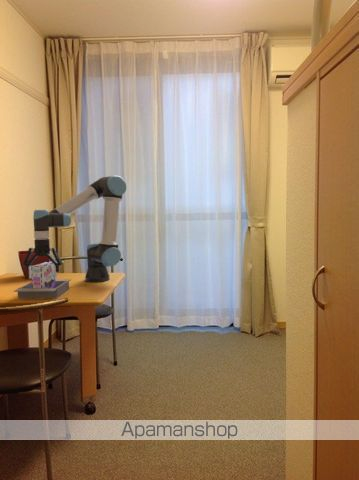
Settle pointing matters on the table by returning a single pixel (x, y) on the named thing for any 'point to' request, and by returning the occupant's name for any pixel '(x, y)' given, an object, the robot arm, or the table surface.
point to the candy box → (43, 275)
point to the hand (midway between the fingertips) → (43, 278)
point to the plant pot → (23, 256)
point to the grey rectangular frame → (44, 290)
